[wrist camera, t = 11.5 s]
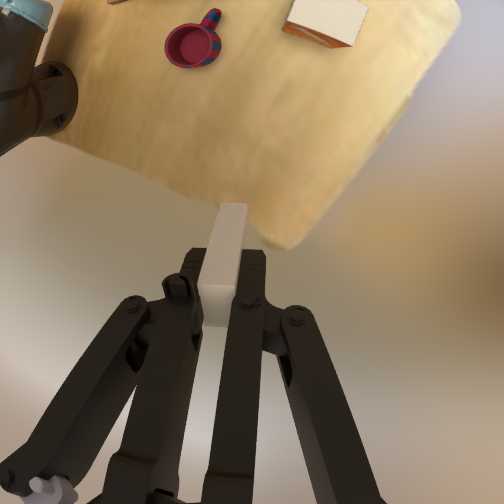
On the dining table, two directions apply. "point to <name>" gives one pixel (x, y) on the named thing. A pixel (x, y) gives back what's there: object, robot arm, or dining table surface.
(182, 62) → the mug
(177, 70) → the dining table surface
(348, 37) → the small box
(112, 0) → the tunnel
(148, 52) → the dining table surface
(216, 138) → the dining table surface
